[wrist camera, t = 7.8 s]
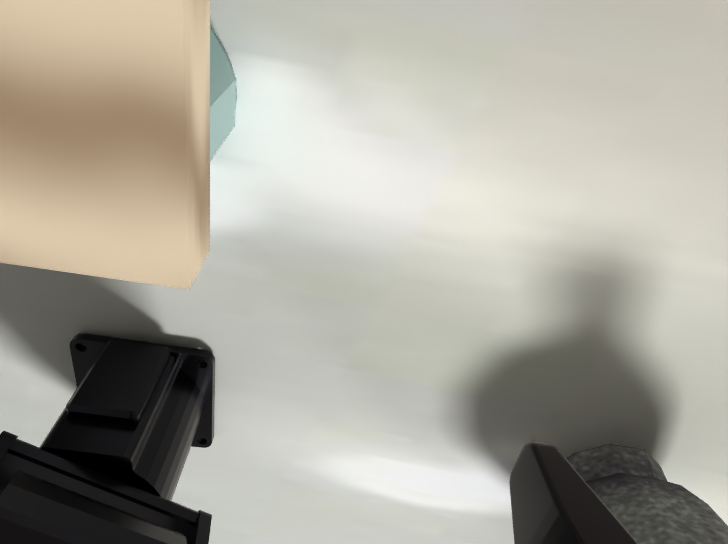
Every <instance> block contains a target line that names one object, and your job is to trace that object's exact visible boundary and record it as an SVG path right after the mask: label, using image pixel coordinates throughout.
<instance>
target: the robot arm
mask: <svg viewBox="0 0 728 544" xmlns="http://www.w3.org/2000/svg"><path fill="white" fill-rule="evenodd" d="M82 344H84V345H85V346H84V345H82ZM70 350H71V356H72V361H73V367H74V372H75V378H76V383H77V389H76V391H75V392H74V394H73V395H72V397H71V399H70V400H69V402H68V403H67V405H66V408H65V409H64V411H63V412H62V414H61V415H60V417H59V418H58V420H57V421H56V423H55V424H54V426H53V428H52V429H51V431H50V432H49V434H48V435H47V437H46V438H45V440H44V441H43V443H42V444H41V446H40V448H39V447H36V446H34V445H31V444H29V443H26V442H24V441H21V440H19V439H17V437H18V436H16V435H14V434H11V433H9V432H6V431H3V432H2V433H1V434H0V544H208V542H209V534H210V526H211V518H212V515H211V514H208V513H206V512H203V511H201V510H199V511H198V512H197V511H195V510H192V509H190V508H187V507H185V506H182V505H180V504H177V503H175V502H172V501H171V500H172V497H173V494H174V492H175V489H176V486H177V483H178V480H179V478H180V475H181V472H182V469H183V467H184V464H185V461H186V458H187V456H188V453H189V450H190V447H191V446H194V447H202V448H206V447H209V446H210V445H211V444H212V441H213V437H214V397H215V357H214V356H213V354H212V353H210V352H208V351H205V350H198V349H191V348H184V347H177V346H169V345H162V344H155V343H148V342H141V341H133V340H126V339H119V338H112V337H105V336H97V335H90V334H77V335H76V336H75V337H74V338H73V340H72V341H71V342H70ZM201 360H203V361H205V362H202V361H201ZM510 495H511V507H512V519H513V531H514V543H515V544H638V543H637V542H636V541H635V540H634V538H633V537H632V536H631V535H630V534H629V533H628V531H627V530H626V529H625V528H624V527H623V526H622V524H621V523H620V522H619V521H618V520H617V518H616V517H615V516H614V515H613V514H612V513H611V511H610V510H609V509H608V508H607V507H606V505H605V504H604V503H603V502H602V501H601V500H600V498H599V497H598V496H597V495H596V494H595V493H594V491H593V490H592V489H591V488H590V487H589V485H588V484H587V483H586V482H585V481H584V480H583V478H582V477H581V476H580V475H579V474H578V473H577V471H576V470H575V469H574V468H573V467H572V465H571V464H570V463H569V462H568V461H567V460H566V458H565V457H564V456H563V455H562V454H561V452H560V451H559V450H558V449H557V448H556V447H555V446H554V445H552V444H549V443H543V442H535V441H529V442H527V443H526V444H525V446H524V447H523V449H522V451H521V453H520V455H519V457H518V459H517V461H516V463H515V465H514V467H513V469H512V472H511V475H510Z"/></svg>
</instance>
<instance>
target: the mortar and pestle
mask: <svg viewBox="0 0 728 544" xmlns="http://www.w3.org/2000/svg"><path fill="white" fill-rule="evenodd" d="M566 460H567V461H568V462H569V463H570V464H571V465H572V467H573V468H574V469H575V470H576V471H577V473H578V474H579V475H580V476H581V477H582V478H583V480H584V481H585V482H586V483H587V484H588V485H589V487H590V488H591V489H592V490H593V491H594V493H595V494H596V495H597V496H598V497H599V498H600V500H601V501H602V502H603V503H604V504H605V505H606V507H607V508H608V509H609V510H610V511H611V513H612V514H613V515H614V516H615V517H616V518H617V520H618V521H619V522H620V523H621V524H622V526H623V527H624V528H625V529H626V530H627V531H628V533H629V534H630V535H631V536H632V537H633V538H634V540H635V541H636V542H637V543H638V544H728V526H727V525H726V524H725V523H724V521H723V520H722V519H721V518H720V517H719V516H718V515H717V514H716V513H715V512H714V511H713V509H712V508H711V507H710V506H709V505H708V504H707V503H705V502H704V501H702V500H701V499H700V498H698V497H697V496H695V495H694V494H692V493H691V492H690V491H688V490H687V489H685V488H684V487H682V486H681V485H677V484H674V483H670V482H667V479H666V477H665V475H664V473H663V471H662V468H661V467H660V466H659V465H658V464H657V463H656V462H655V461H654V460H653V458H652V457H651V456H650V455H649V454H648V453H647V452H646V451H645V450H642V449H635V448H629V447H623V446H617V445H611V444H610V445H606V446H602V447H598V448H594V449H590V450H586V451H582V452H578V453H574V454H572V455H571V456H570V457H569V458H567V459H566Z"/></svg>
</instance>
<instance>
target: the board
mask: <svg viewBox="0 0 728 544" xmlns="http://www.w3.org/2000/svg"><path fill="white" fill-rule="evenodd" d="M209 252H210V0H0V263H6V264H13V265H20V266H27V267H34V268H41V269H48V270H55V271H62V272H69V273H76V274H83V275H90V276H97V277H104V278H111V279H118V280H125V281H132V282H139V283H146V284H153V285H160V286H167V287H174V288H180V289H187V290H190V288H191V286H192V284H193V282H194V280H195V279H196V277H197V275H198V273H199V271H200V269H201V267H202V265H203V263H204V261H205V259H206V257H207V255H208V253H209Z"/></svg>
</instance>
